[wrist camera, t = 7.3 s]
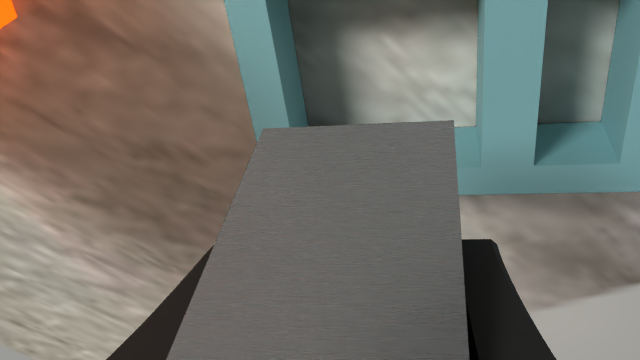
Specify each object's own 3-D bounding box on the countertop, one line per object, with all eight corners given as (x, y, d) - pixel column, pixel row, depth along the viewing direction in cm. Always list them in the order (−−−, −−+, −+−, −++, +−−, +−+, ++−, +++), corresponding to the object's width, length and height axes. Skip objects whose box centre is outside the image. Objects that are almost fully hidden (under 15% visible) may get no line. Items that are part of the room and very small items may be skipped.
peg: (453, 120, 12) (481, 546, 6) (454, 264, 14) (474, 682, 8) (263, 128, 13) (102, 512, 7) (292, 263, 15) (195, 645, 9)
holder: (791, -122, 16) (844, -101, 14) (713, 145, 20) (745, 189, 18) (238, -62, 18) (215, -38, 16) (283, 158, 23) (269, 198, 21)
